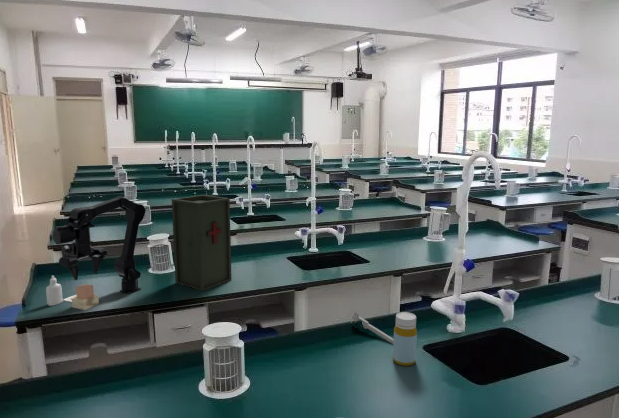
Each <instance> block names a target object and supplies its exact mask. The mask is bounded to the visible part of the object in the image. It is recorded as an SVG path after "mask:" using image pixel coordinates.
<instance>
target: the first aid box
mask: <svg viewBox="0 0 619 418" xmlns="http://www.w3.org/2000/svg"><path fill="white" fill-rule="evenodd" d="M230 200H231V198H229V197H222V196H214V195H207V194H200V195H192V196H187V197H180V198H179V197H178V198H172V199H171V213H172V214H171V215H172V217H171V218H172V235H173V236H172V237H173V238H172V239H173V240H172V241H173V258H174V261H173V262H174V280H175V282H176V283H175V284H177V283H179V284H178V285H180V284H183V285H186V286H185V287H187V286H189V287H188V288H190V287H192V288H191V289H193V288H195V289H194V290H196V289H199V290H198V291H200V290H202V291H201V292H203V290H204V291H206V290H205V289H207V290H209V288H210V289H212V288H215V287H217V285H218V286H220V284H221V285H223V284H226V283H229V282H231V281H232V250H231V249H232V246H231V244H232V243H231V242H232V241H231V239H232V238H231V208H230V207H231V202H230ZM228 281H229V282H228ZM225 282H226V283H225ZM222 283H223V284H222ZM183 285H182V286H183ZM214 286H215V287H214Z"/></svg>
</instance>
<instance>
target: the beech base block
mask: <svg viewBox="0 0 619 418" xmlns="http://www.w3.org/2000/svg"><path fill="white" fill-rule="evenodd" d="M98 305H100V300H99V294H94V296H92V297H90V298H87V299H80V298H77V297H74V298H72V302H71V307H72V308H73V309H74V308H75V309H78V310H82V311H85V310H89V309H91V308H93V307H95V306H98Z"/></svg>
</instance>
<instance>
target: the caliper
mask: <svg viewBox="0 0 619 418" xmlns="http://www.w3.org/2000/svg"><path fill="white" fill-rule="evenodd" d="M359 315H360V313H358V312H357V311H355V312H354V313H353V314H352V316H351V322H352V321H355V322H357V321H358V320H361V321H362V325H363V327H362V329H363V328H364V329H365V330H366V329H368V330H369V331H371V332H372V333H375V335H377V336H378V337H380V338H382V339H383V340H385V341H386V342H388V343H390V344H392V345H393V341H394V337H391V336H389V334H386V333H385V332H383V331H382V330H380V329H379V328H377V327H375V326H374V325H372V324H370V323H369V321H368V320H366V319H364V318H363V317H361V316H359Z"/></svg>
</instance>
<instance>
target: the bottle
mask: <svg viewBox="0 0 619 418" xmlns="http://www.w3.org/2000/svg"><path fill="white" fill-rule="evenodd" d="M416 326H417V316H416V315H415V313H412V312H406V311H401V312H397V313H396V315H395V326H394V328H393V339H394V341H393V344H392V360H393V361H394V363H395V364H398V365H400V366H403V367H405V366H406V367H407V366H408V367H409V366H412V365H414V364H415V362H416V358H417V357H416V355H417V342H418V341H417V339H418V337H417V336H418V329H417V327H416Z"/></svg>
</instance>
